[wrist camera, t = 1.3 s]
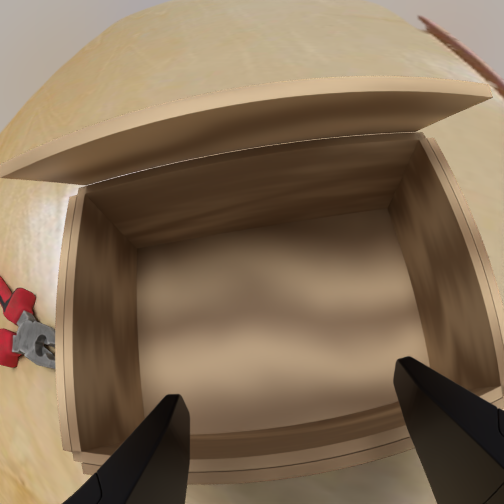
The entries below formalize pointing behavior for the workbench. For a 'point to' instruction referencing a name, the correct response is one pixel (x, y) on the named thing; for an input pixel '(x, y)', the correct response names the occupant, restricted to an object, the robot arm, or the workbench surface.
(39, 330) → the pliers
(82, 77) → the workbench surface
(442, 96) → the far flap
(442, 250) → the carton
